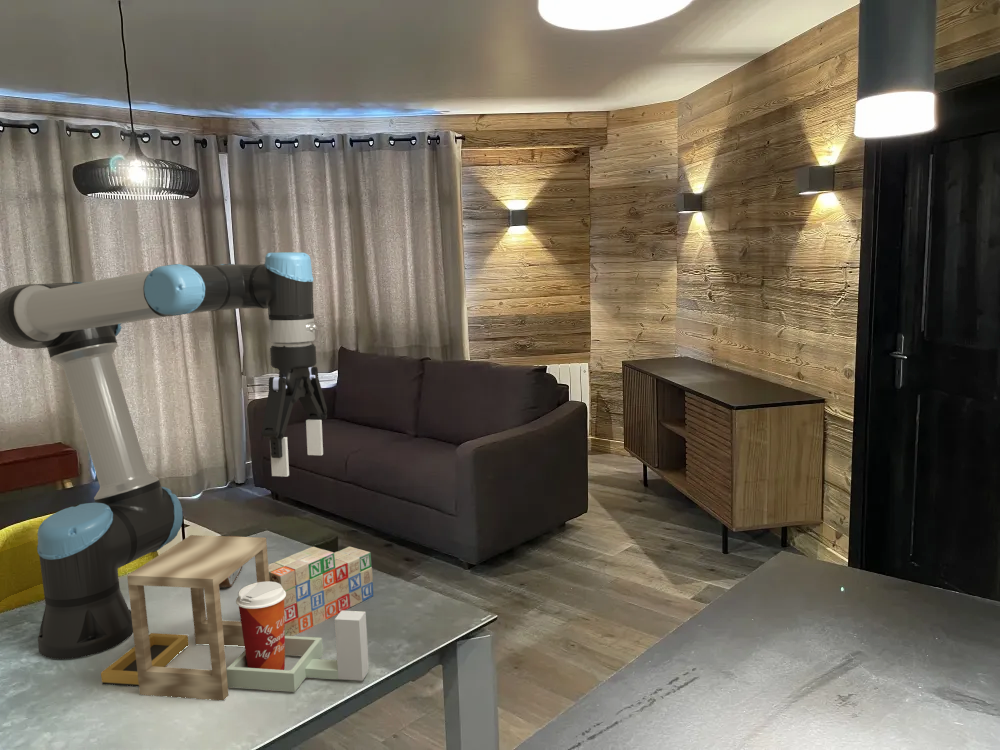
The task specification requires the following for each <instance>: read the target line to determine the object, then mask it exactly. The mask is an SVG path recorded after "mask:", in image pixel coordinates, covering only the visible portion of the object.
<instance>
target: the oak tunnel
mask: <svg viewBox="0 0 1000 750" xmlns="http://www.w3.org/2000/svg"><path fill="white" fill-rule="evenodd" d="M229 536H230V535H227V536H222V535H193V534H191V535H189V536H187V537H185V538H184V539H182V540H181V541H179V542H178V543H176V544H174V545H173V546H172V547H170V548H168V549H166V550H164V552H162V553H160V554H159V555H157V556H155V557H154V558H152V559H150V560H149V561H147V562H146V563H145V564H142V566H140V567H138V568H137V569H135V570H134V571H131V572H130V573H129V574H126V575H127V586H128V595H129V605H130V611H131V616H132V626H133V633H132V635H133V641H134V642H133V643H134V646H135V654H136V663H137V673H138V682H139V687H138V690H139V695H140V696H151V695H152V697H153V695H154V697H163V696H167V697H166V698H177V697H181V698H180V699H191V698H196V699H195V700H205V699H207V701H208V700H209V699H211V700H209V701H219V700H224V699H225V698H226V697H228V696H230V695H229V687H228V683H227V671H226V669H227V664H226V663H227V662H226V661H227V660H226V650H225V646H224V645H238V646H244V639H243V632H242V625H241V620H240V621H238V620H223V617H222V616H223V615H222V605H221V604H222V603H221V593H220V588H219V584H220V583H221V582H223V581H224V580H225V579H226V578H228V577H229V576H230V575H231V574H233V573H234V572H235V571H236V570H238V569H239V568H240V567H241V566H242V567H243V566H244V565H245V564H246V563H248V562H249V561H250V560H251V559H253V558H254V559H255V561H254V562H255V574H256V583H257V582H266V581H269V568H268V565H269V559H268V557H269V556H268V547H267V546H268V545H267V543H268V542H267V537H256V536H253V537H251V536H241V537H229ZM147 586H148V587H168V588H169V587H170V588H189V589H190V597H191V609H192V622H193V629H194V631H193V632H194V639H195V643H194V644H195V645H196V644H209V645H208V646H209V656H210V666H211V669H201V668H200V669H199V668H185V667H184V668H183V667H171V666H169V667H167V666H165V667H156V666H152V660H151V650H150V641H149V634H150V633H149V622H148V614H147V613H148V612H147V603H146V594H145V587H147ZM171 696H172V697H171ZM185 697H186V698H185ZM226 699H227V698H226ZM226 699H225V700H226ZM225 700H224V701H225Z"/></svg>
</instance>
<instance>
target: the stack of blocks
mask: <svg viewBox="0 0 1000 750" xmlns="http://www.w3.org/2000/svg"><path fill="white" fill-rule="evenodd" d="M371 553H372V552H370V551H367V550H363V549H359V548H356V547H352V546H347V547H345V548H343V549H340V550H338V551H335V552H333V551H330V550H326V549H324V548H319V547H316V546H311V547H309V548H306V549H304V550H301V551H298V552H295V553H294V554H291V555H288V556H287V557H284V558H282V559H280V560H276V561H274V562H272V563H268V568H269V581H270V582H277V583H279V584H281V586H282V588H283V590H284V591H285V592H286V597H285V598H284V618H285V636H297V635H298V634H302V633H303V632H305V631H307V630H309V629H311V628H313V627H315V626H316V625H317V626H318V625H319V624H321V623H323V622H326V620H328V619H330V618H332V617H334V616H336V615H338V614H339V613H340V612H341V611H347V610H348V609H350V608H352V607H354V606H356V605H358V604H360V603H362V602H365V601H366V600H369V599H370V598H373V597H374V582H373V581H374V580H373V576H374V575H373V567H372V557H371V556H372V555H371Z"/></svg>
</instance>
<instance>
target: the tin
mask: <svg viewBox="0 0 1000 750" xmlns="http://www.w3.org/2000/svg"><path fill="white" fill-rule="evenodd" d="M228 536H229V537H242V536H241V535H228ZM242 569H243V566H241V567H240V568H239V569H238V570H236V571H235V572H234V573H233V574H231V575H230V576H229V577H228V578H226V579H225V580H224V581H223V582H221V583H220V584H219V589H221V588H223V589H224V588H232V586H233V585H234V583H235V582H236V580H237V579H238V577H239V575H240V573H241V572H240V571H242ZM237 576H238V577H237ZM236 578H237V579H236ZM234 581H235V582H234Z"/></svg>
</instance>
